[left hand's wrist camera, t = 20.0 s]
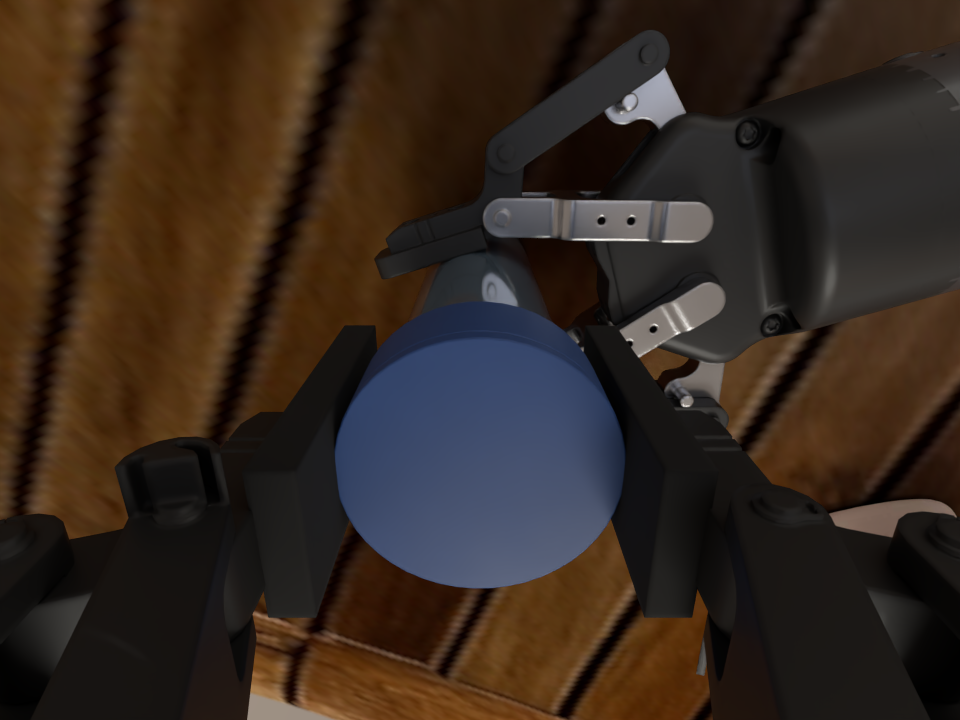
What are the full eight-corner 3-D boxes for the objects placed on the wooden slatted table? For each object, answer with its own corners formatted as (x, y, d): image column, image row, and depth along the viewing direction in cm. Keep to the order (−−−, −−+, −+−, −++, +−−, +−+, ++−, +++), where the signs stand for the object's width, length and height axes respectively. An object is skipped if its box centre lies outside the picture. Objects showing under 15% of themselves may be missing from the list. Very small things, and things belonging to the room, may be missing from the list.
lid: (413, 544, 13) (401, 617, 11) (315, 349, 12) (280, 395, 10) (628, 480, 13) (657, 546, 11) (562, 264, 11) (580, 293, 9)
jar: (546, 252, 25) (640, 418, 11) (496, 333, 27) (517, 577, 12) (461, 202, 24) (433, 303, 10) (414, 287, 26) (327, 489, 11)
